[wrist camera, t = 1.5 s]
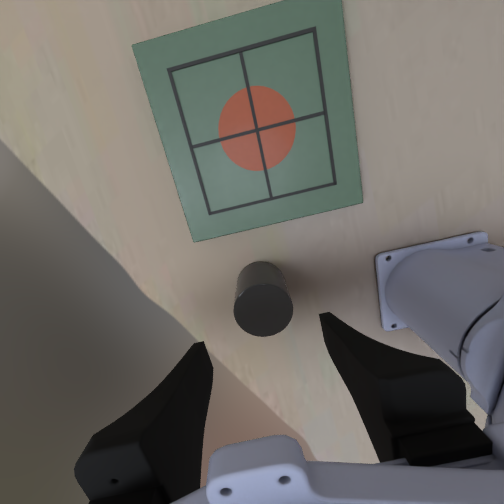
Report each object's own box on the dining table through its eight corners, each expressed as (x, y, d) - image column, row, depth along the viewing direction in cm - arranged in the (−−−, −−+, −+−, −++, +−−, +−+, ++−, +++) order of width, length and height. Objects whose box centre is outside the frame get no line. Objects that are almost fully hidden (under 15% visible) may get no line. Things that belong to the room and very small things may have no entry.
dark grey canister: (279, 256, 22) (286, 277, 17) (288, 299, 23) (298, 330, 18) (231, 267, 22) (226, 291, 18) (243, 309, 24) (241, 342, 19)
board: (332, -1, 17) (340, -19, 15) (355, 201, 21) (364, 202, 19) (140, 55, 18) (130, 43, 16) (197, 238, 22) (193, 243, 20)
